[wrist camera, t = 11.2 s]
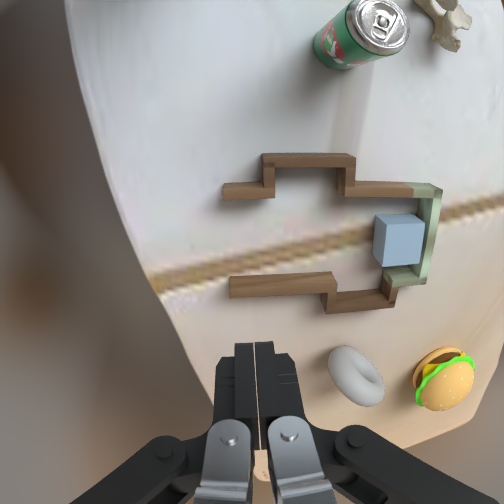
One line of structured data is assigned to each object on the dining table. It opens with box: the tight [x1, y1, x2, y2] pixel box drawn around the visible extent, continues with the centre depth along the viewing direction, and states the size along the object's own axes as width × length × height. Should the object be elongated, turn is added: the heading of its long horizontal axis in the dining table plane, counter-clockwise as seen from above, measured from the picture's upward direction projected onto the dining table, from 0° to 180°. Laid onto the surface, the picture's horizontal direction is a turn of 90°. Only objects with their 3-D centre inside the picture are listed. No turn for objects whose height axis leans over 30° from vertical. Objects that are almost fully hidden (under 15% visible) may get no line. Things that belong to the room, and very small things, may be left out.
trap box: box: [222, 153, 443, 314], centre depth 34 cm, size 18×24×3 cm
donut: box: [328, 346, 385, 407], centre depth 39 cm, size 10×4×10 cm, turn 53°
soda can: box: [314, 0, 410, 70], centre depth 22 cm, size 5×5×12 cm
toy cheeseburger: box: [413, 347, 475, 411], centre depth 43 cm, size 12×12×9 cm
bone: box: [414, 0, 472, 52], centre depth 21 cm, size 9×6×10 cm
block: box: [372, 214, 425, 267], centre depth 34 cm, size 5×5×4 cm
